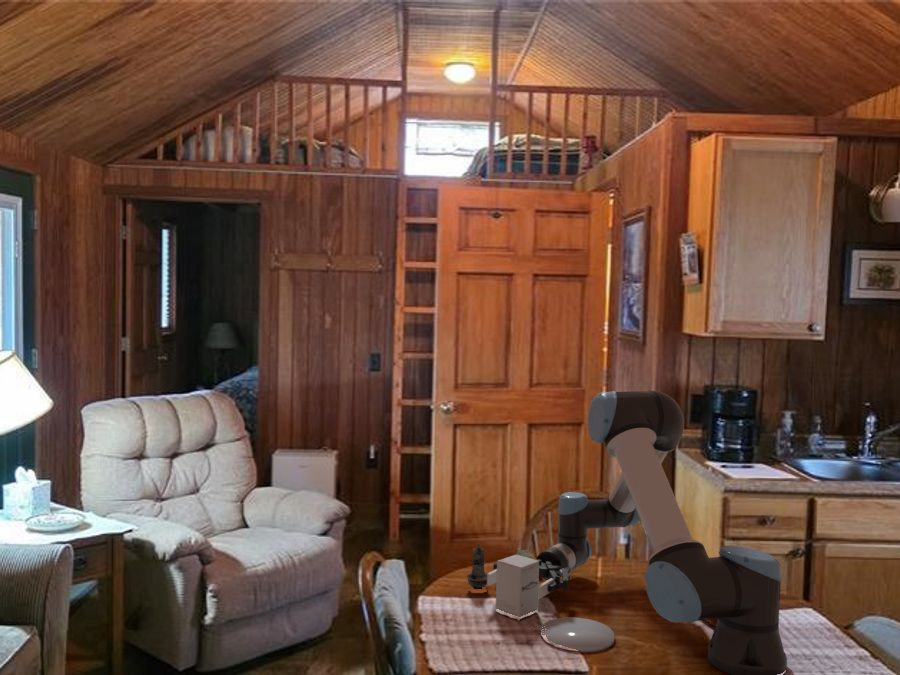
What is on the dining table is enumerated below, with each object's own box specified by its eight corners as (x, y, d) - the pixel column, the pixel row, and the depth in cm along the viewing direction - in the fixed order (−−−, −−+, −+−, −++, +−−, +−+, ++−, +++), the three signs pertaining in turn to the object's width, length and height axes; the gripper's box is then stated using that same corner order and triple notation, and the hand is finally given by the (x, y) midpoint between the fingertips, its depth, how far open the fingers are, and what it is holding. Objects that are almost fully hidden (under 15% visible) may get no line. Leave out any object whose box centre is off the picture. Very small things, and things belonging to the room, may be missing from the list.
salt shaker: (490, 586, 204) (490, 540, 204) (488, 595, 198) (489, 547, 198) (467, 585, 205) (467, 539, 204) (465, 593, 199) (466, 546, 198)
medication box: (517, 563, 224) (517, 549, 223) (526, 562, 224) (526, 548, 224) (532, 578, 212) (532, 563, 212) (542, 577, 213) (542, 562, 212)
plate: (630, 642, 172) (630, 637, 172) (572, 658, 163) (572, 653, 163) (581, 616, 185) (581, 612, 185) (525, 630, 177) (525, 625, 177)
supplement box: (519, 622, 182) (520, 567, 181) (494, 613, 187) (495, 559, 186) (539, 613, 187) (540, 560, 186) (514, 604, 192) (515, 553, 192)
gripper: (600, 587, 196) (561, 614, 179) (512, 567, 210) (468, 590, 193) (600, 557, 196) (562, 581, 178) (512, 538, 210) (468, 559, 192)
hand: (513, 585), depth 185 cm, fingers open, 13 cm apart
